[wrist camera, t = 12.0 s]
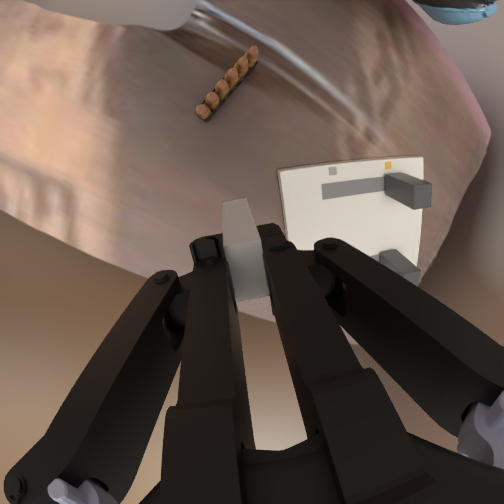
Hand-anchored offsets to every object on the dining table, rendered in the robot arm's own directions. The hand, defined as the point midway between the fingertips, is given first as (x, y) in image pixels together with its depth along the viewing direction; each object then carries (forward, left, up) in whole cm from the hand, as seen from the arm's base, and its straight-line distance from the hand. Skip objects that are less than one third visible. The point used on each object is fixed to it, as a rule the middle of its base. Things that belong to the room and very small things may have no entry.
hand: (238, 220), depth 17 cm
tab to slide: (-19, +18, -22) cm, 34 cm away
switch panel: (-11, +21, -24) cm, 34 cm away
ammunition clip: (-7, -9, -25) cm, 27 cm away
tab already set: (-12, +30, -22) cm, 39 cm away
